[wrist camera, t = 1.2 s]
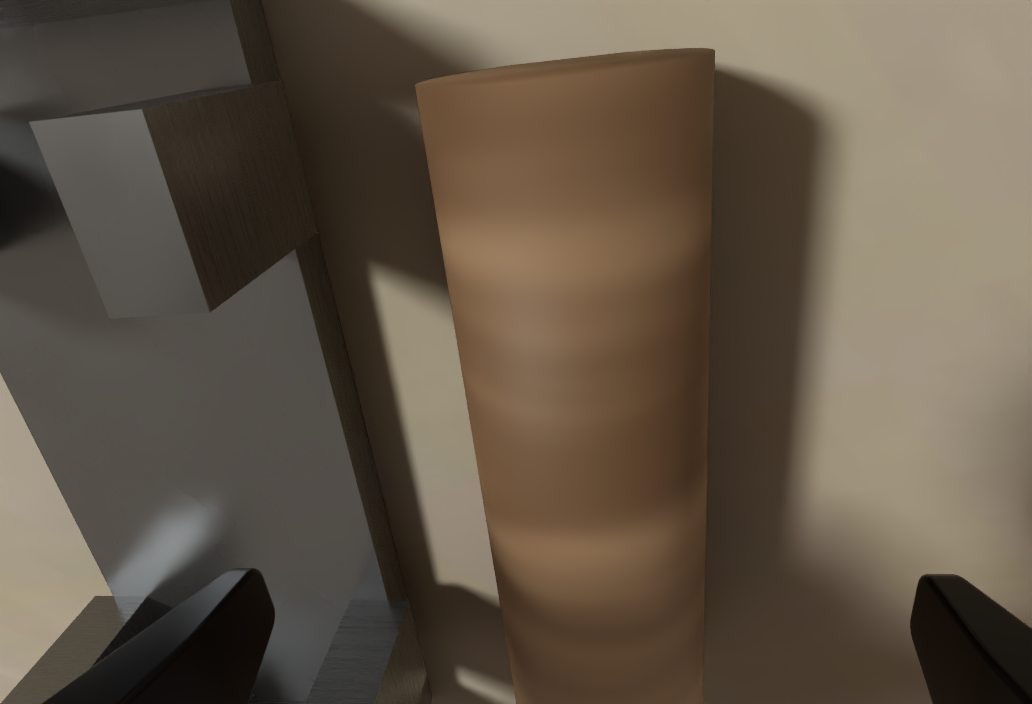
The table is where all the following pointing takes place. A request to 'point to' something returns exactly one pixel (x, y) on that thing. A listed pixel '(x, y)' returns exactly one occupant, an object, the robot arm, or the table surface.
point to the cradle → (188, 343)
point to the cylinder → (586, 356)
